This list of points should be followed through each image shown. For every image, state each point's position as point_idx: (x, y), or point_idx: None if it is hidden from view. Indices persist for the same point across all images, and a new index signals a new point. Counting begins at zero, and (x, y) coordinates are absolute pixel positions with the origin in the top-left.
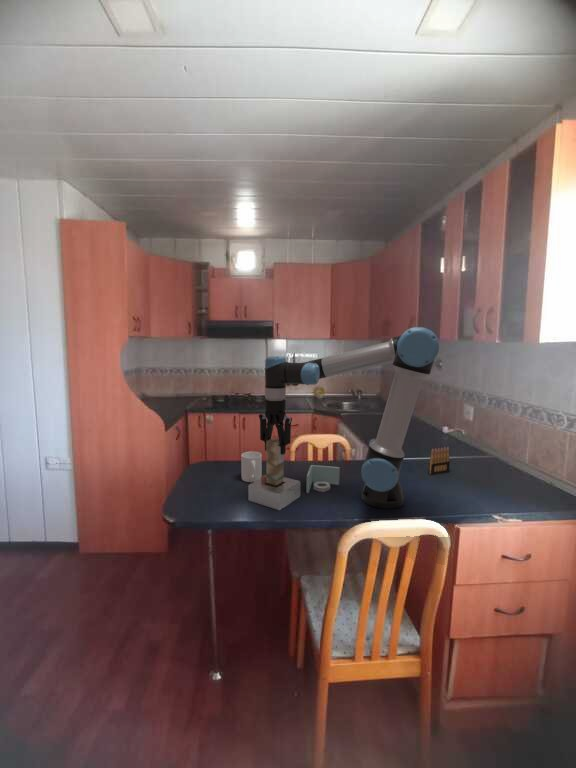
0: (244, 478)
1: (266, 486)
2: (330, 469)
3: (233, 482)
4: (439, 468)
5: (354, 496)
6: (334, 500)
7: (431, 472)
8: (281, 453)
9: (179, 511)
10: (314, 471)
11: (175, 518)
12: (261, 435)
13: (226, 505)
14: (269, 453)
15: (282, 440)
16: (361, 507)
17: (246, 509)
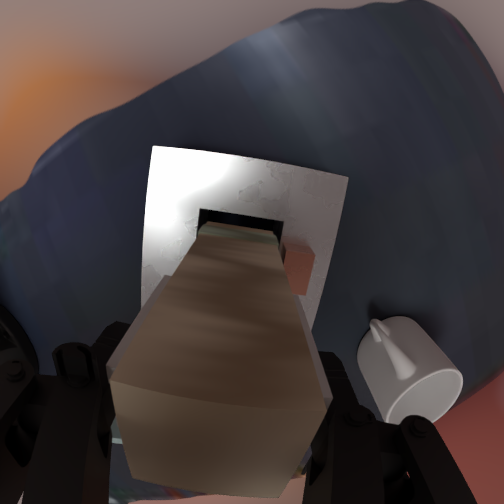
0: (408, 319)
1: (255, 198)
2: (118, 433)
3: (433, 291)
4: None
5: (44, 344)
6: (64, 304)
7: None
8: (128, 328)
9: (460, 45)
10: None
11: (441, 10)
12: (438, 463)
13: (378, 108)
14: (258, 305)
15: (47, 422)
16: (7, 288)
17: (296, 103)
